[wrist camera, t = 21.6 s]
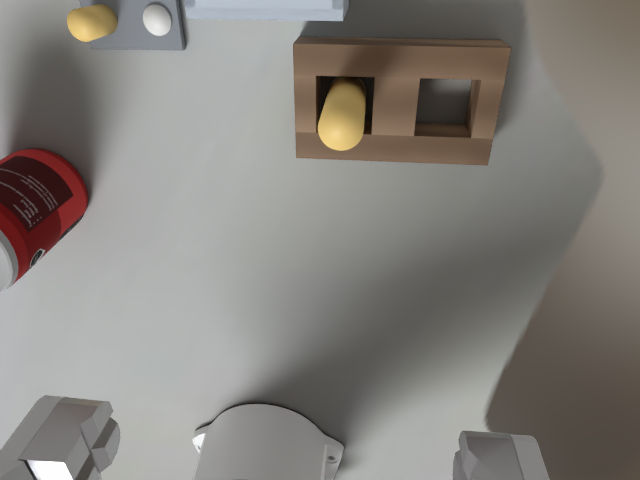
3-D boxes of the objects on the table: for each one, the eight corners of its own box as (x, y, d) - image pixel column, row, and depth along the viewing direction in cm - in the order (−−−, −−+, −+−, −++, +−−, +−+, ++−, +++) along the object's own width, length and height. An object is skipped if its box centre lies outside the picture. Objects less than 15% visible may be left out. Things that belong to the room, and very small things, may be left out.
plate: (185, 49, 35) (167, 59, 32) (95, 47, 36) (68, 56, 32) (176, -13, 33) (156, -8, 30) (80, -13, 33) (51, -9, 30)
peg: (365, 112, 36) (362, 151, 29) (328, 111, 36) (317, 149, 30) (367, 74, 35) (364, 106, 28) (328, 73, 35) (317, 105, 28)
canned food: (21, 221, 45) (-71, 293, 36) (-6, 141, 41) (-118, 199, 31) (99, 229, 44) (26, 304, 35) (80, 149, 40) (-8, 210, 31)
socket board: (479, 150, 37) (487, 165, 34) (301, 143, 38) (296, 157, 35) (500, 39, 32) (511, 47, 30) (299, 36, 34) (293, 43, 31)
